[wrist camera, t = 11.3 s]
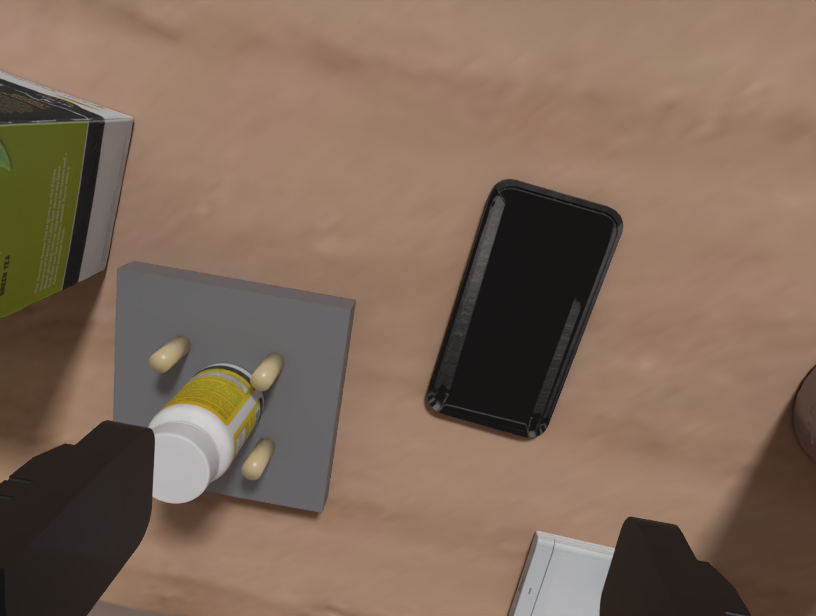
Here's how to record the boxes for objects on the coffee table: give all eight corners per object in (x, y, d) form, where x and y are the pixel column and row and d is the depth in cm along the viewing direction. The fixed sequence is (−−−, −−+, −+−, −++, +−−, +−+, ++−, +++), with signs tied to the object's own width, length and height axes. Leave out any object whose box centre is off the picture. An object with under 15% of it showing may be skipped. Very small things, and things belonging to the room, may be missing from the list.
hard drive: (722, 582, 42) (538, 540, 42) (681, 677, 44) (506, 638, 44) (712, 565, 43) (535, 525, 43) (673, 658, 46) (504, 620, 46)
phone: (423, 408, 40) (496, 175, 36) (424, 400, 41) (495, 173, 37) (543, 442, 40) (631, 214, 36) (541, 433, 41) (626, 211, 37)
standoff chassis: (355, 300, 39) (341, 325, 34) (328, 495, 43) (312, 542, 38) (133, 261, 39) (89, 280, 35) (127, 458, 44) (86, 500, 39)
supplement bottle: (178, 372, 39) (107, 437, 31) (249, 352, 38) (194, 415, 30) (207, 439, 40) (146, 519, 32) (276, 422, 40) (231, 500, 32)
